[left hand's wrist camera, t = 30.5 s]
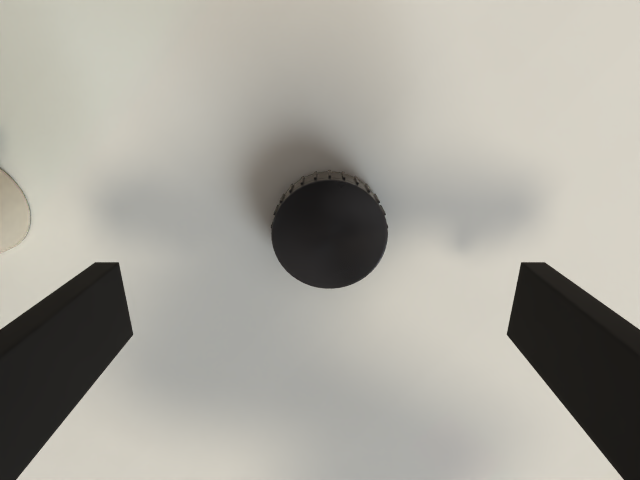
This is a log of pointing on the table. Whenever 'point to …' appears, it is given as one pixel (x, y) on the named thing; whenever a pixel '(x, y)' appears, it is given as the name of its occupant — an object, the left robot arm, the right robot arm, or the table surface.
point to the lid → (329, 230)
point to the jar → (12, 213)
